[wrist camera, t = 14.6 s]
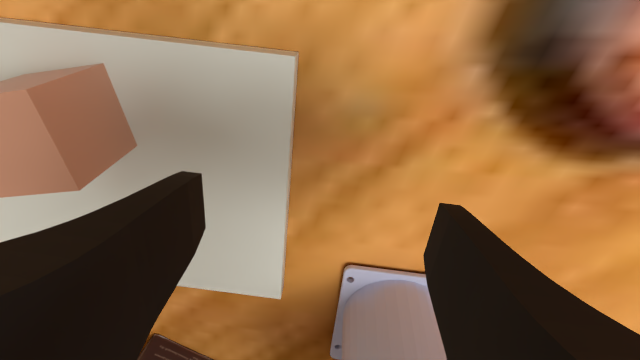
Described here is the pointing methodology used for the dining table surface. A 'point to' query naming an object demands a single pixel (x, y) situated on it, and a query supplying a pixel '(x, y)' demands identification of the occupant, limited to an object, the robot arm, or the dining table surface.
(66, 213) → the board
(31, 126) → the peach colored cube
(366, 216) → the dining table surface
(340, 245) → the dining table surface
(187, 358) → the box
